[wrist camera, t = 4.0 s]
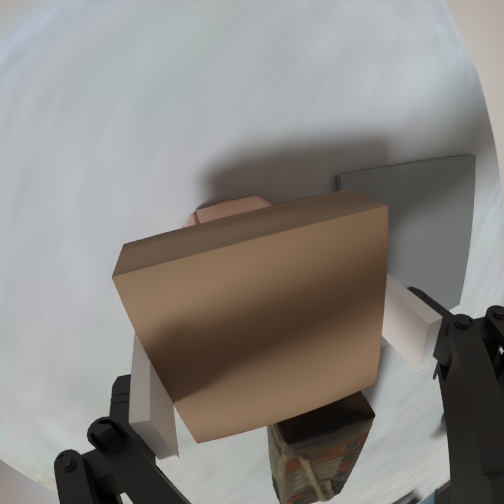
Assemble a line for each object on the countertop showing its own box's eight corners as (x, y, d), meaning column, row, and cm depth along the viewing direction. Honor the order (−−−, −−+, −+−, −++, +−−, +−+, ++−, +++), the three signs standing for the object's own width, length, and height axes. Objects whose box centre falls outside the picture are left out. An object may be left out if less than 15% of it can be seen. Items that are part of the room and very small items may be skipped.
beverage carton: (267, 477, 32) (282, 518, 26) (259, 385, 24) (284, 448, 18) (325, 459, 33) (344, 497, 27) (346, 361, 25) (383, 412, 20)
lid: (350, 351, 18) (375, 383, 15) (190, 402, 16) (197, 443, 13) (347, 188, 13) (387, 205, 11) (123, 244, 12) (111, 277, 9)
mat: (455, 301, 27) (459, 304, 26) (343, 354, 25) (346, 358, 24) (469, 154, 20) (474, 155, 20) (335, 175, 18) (340, 176, 18)
